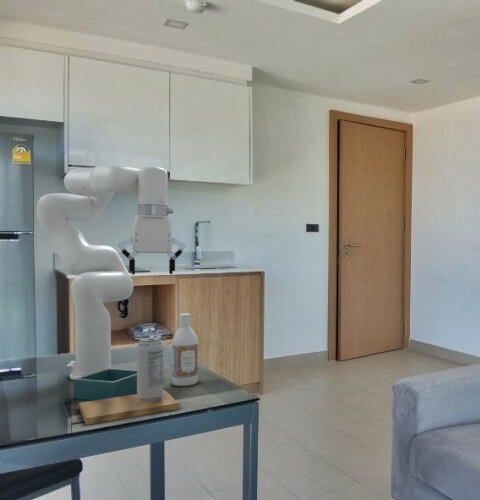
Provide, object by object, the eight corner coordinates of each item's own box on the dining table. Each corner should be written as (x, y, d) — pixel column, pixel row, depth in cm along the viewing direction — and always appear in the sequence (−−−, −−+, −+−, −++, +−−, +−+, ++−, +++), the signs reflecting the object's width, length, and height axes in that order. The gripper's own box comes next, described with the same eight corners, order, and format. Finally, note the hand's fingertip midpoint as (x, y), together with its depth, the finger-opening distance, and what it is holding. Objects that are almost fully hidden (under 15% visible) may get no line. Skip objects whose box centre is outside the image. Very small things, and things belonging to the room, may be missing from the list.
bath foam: (175, 388, 148) (175, 316, 148) (169, 382, 154) (169, 313, 153) (200, 384, 152) (200, 314, 151) (194, 379, 158) (194, 312, 157)
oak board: (86, 424, 118) (85, 418, 118) (78, 408, 129) (78, 402, 129) (178, 408, 129) (179, 402, 129) (164, 395, 141) (164, 389, 141)
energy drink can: (152, 394, 137) (152, 336, 136) (168, 397, 133) (168, 338, 133) (131, 400, 131) (131, 339, 131) (147, 403, 128) (147, 341, 128)
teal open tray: (73, 398, 138) (73, 379, 138) (109, 385, 150) (109, 368, 150) (113, 402, 135) (113, 382, 135) (147, 388, 147) (147, 370, 147)
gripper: (184, 213, 154) (184, 272, 154) (118, 211, 147) (118, 273, 147) (186, 212, 147) (186, 274, 148) (117, 210, 140) (117, 275, 141)
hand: (152, 273), depth 147 cm, fingers open, 9 cm apart
